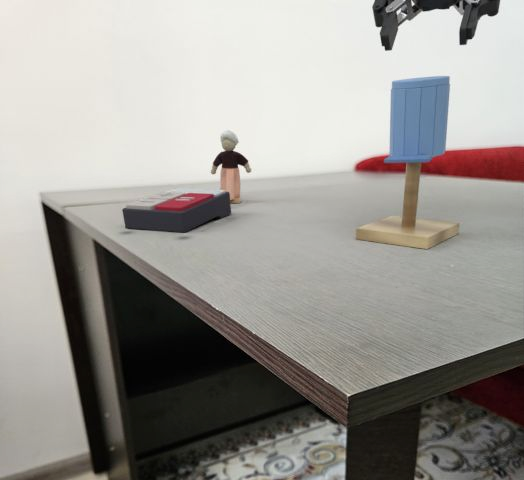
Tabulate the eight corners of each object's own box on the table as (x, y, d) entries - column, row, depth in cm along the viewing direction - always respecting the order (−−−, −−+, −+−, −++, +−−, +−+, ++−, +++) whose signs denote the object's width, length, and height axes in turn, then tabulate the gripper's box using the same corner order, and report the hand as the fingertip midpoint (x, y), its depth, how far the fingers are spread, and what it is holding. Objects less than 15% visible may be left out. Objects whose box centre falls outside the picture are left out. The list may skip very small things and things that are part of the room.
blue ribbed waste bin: (397, 150, 70) (399, 79, 66) (448, 149, 67) (454, 74, 63) (378, 163, 63) (379, 84, 59) (434, 162, 60) (439, 79, 56)
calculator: (119, 203, 79) (174, 185, 91) (124, 232, 81) (177, 210, 93) (181, 207, 74) (230, 186, 86) (185, 237, 76) (232, 213, 88)
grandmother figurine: (211, 204, 98) (206, 131, 92) (213, 201, 101) (208, 130, 96) (252, 203, 98) (249, 130, 92) (252, 200, 101) (250, 129, 96)
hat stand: (390, 225, 76) (400, 88, 69) (458, 234, 70) (477, 84, 63) (355, 239, 69) (362, 88, 62) (427, 249, 63) (444, 83, 56)
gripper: (391, -81, 64) (357, 18, 60) (518, -104, 58) (491, 3, 54) (398, -21, 70) (368, 72, 66) (514, -36, 64) (489, 65, 60)
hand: (423, 41), depth 60 cm, fingers open, 8 cm apart
